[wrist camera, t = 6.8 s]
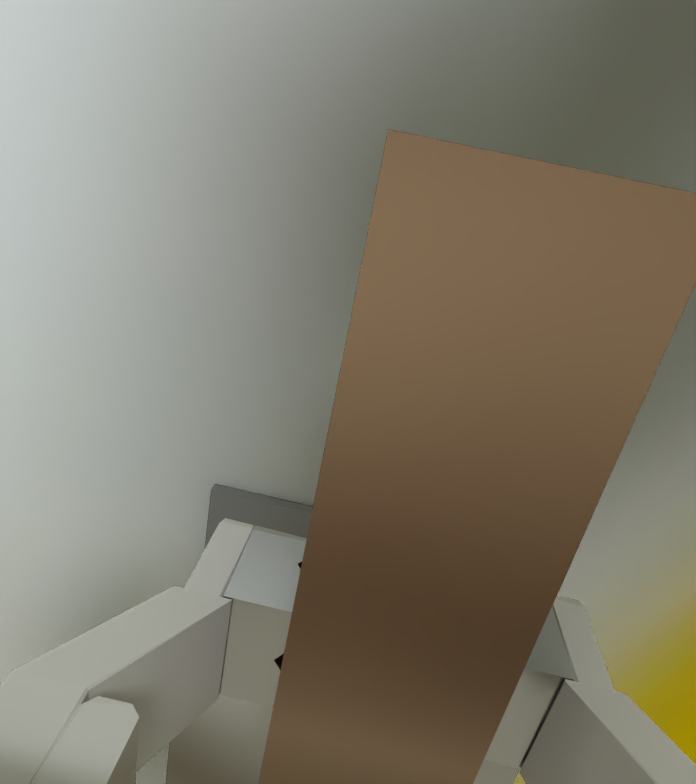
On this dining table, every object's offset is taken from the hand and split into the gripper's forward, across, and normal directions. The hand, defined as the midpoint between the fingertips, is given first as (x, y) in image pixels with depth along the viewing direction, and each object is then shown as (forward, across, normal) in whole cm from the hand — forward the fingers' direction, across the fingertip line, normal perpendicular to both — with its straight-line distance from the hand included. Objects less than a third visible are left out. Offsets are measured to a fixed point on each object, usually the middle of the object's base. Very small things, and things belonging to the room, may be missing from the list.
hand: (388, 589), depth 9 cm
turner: (+2, 0, +3) cm, 3 cm away
